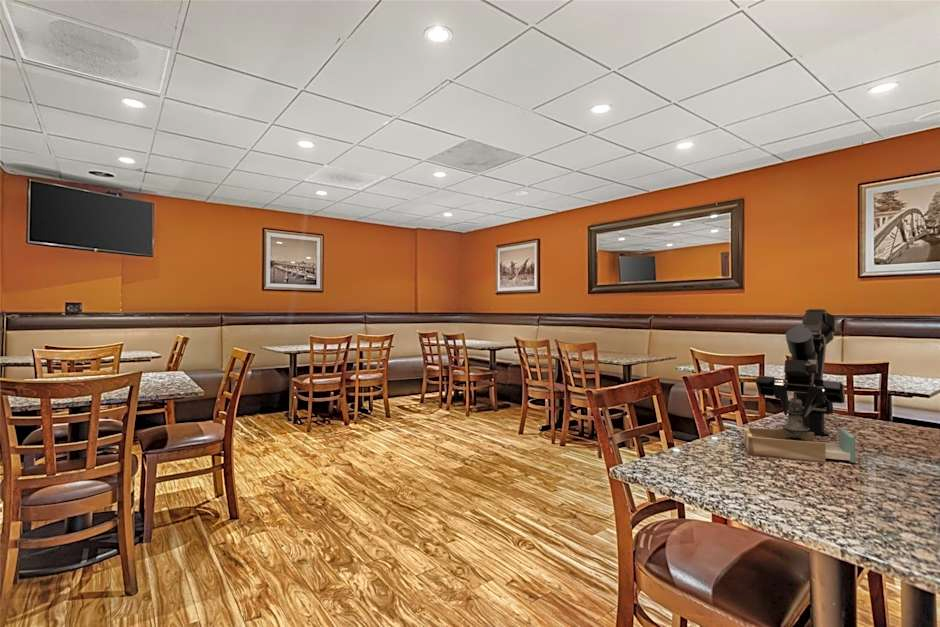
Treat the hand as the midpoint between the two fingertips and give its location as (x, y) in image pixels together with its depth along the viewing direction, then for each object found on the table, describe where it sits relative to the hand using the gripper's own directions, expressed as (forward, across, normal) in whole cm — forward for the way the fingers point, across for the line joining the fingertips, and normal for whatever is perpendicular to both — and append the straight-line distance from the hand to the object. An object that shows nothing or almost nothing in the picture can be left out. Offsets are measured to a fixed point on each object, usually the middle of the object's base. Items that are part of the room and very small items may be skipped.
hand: (794, 415), depth 120 cm
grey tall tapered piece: (+4, 0, +6) cm, 7 cm away
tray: (+5, +3, +8) cm, 10 cm away
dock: (+7, -3, +7) cm, 10 cm away
